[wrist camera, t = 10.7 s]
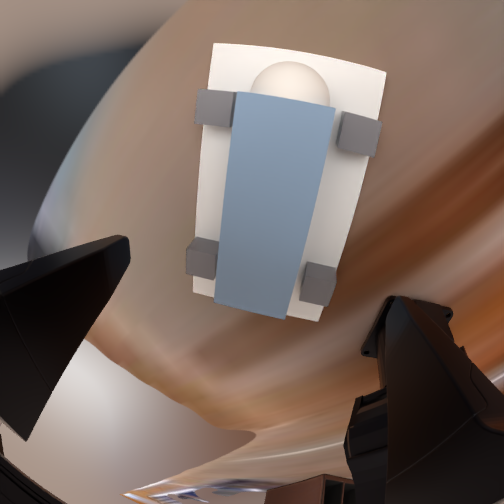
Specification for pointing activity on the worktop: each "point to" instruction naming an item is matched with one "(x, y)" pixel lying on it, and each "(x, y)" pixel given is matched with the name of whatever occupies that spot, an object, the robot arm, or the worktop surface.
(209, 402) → the worktop surface
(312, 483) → the letter holder
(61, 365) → the robot arm
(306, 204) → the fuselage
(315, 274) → the cradle
